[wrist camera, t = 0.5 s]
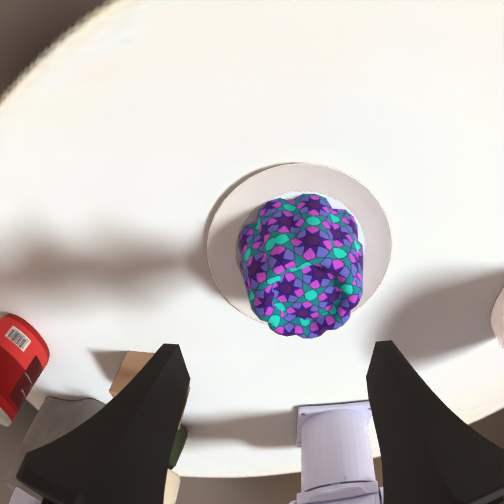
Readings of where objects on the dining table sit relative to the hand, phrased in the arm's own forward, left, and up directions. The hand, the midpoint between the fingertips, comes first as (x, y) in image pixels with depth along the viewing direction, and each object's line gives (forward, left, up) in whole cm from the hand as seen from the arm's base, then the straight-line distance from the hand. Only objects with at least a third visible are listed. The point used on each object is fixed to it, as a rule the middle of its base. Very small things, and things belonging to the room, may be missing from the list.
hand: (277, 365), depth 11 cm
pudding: (-1, -1, -10) cm, 10 cm away
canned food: (-11, +30, -10) cm, 33 cm away
